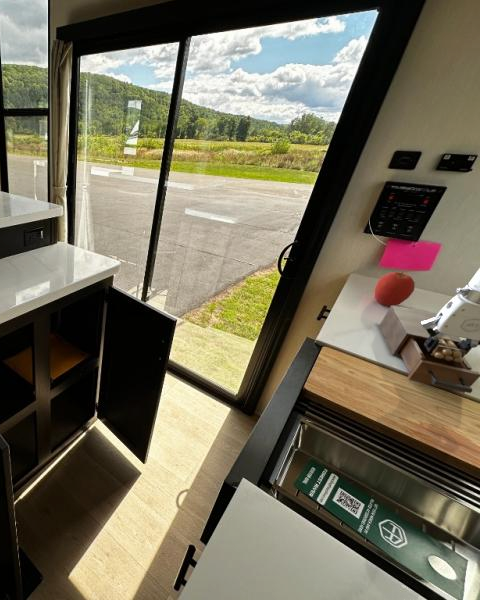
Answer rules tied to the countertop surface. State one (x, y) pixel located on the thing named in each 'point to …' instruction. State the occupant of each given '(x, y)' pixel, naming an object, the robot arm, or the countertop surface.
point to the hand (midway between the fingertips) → (442, 351)
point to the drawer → (436, 368)
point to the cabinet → (405, 327)
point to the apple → (394, 289)
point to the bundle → (448, 350)
